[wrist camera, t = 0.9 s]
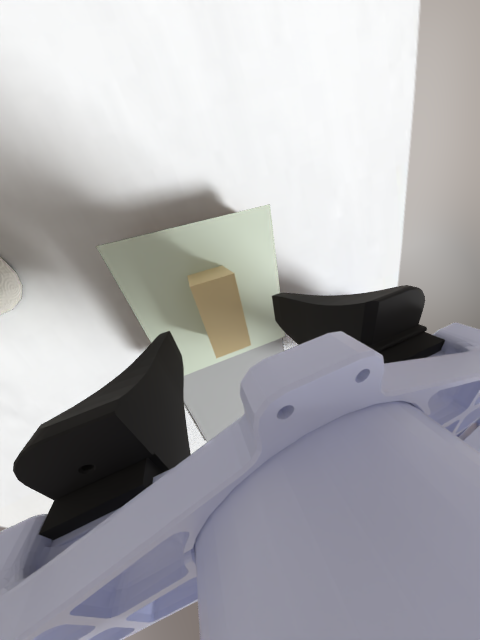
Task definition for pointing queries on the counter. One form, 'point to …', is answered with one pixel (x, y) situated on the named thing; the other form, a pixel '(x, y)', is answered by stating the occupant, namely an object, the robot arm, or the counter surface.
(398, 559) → the robot arm
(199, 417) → the mat
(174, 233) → the lid
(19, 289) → the paper towel roll
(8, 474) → the counter surface
